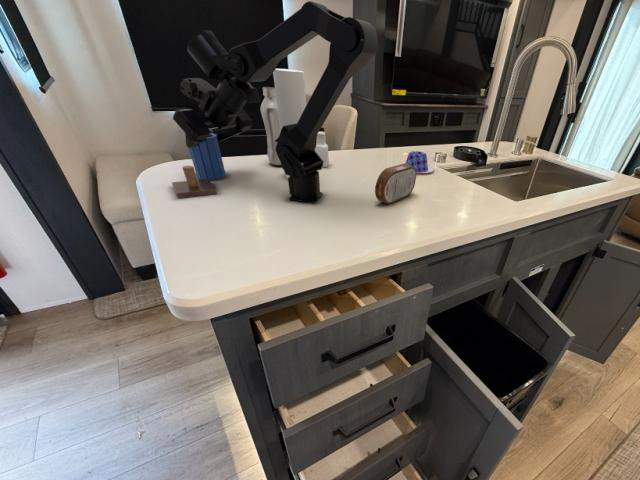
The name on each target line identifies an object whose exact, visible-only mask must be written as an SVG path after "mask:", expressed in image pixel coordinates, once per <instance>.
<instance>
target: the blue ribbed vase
mask: <svg viewBox="0 0 640 480" xmlns="http://www.w3.org/2000/svg"><path fill="white" fill-rule="evenodd" d="M216 134H217V133H216ZM216 134H215V133H212V132H210V135H209V136H208V137H207V138H206V139H207V140H206V141H204V142H202V143H200V144H198V145H197V146H195V147H193V148H191V149H189V148H188V151H189V154H190V157H191V161H192V164H193V167H194V171H195V174H196V178H197V179H198V180H203V179H209V180H210V181H219V180H222V179H224V178H226V177H227V175H226V174H227V173H226V170H225V166H224V161H223V157H222V152H221V148H220V145H219V142H218V140H217V135H216Z"/></svg>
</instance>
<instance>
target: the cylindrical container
mask: <svg viewBox="0 0 640 480" xmlns="http://www.w3.org/2000/svg"><path fill="white" fill-rule="evenodd" d="M272 77H273V83H274V88H275V92H276V100H277V109H278V117H279V125H280V132H281V129H282V127H283V126H287V125H291V124H295V123H297V122H298V120H299V118H300V116H301V115H302V113H303V111H304V109H305V107H306V105H307V97H306V96H307V95H306V83H305V82H306V81H305V71H303V70H299V69H298V70H297V69H289V68H276V69H275V71H274V72H273V73H272ZM301 164H302V165H303V163H301ZM289 177H290V175H286V174H285V178H286V179H288V178H289Z"/></svg>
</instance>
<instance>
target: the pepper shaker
mask: <svg viewBox="0 0 640 480" xmlns="http://www.w3.org/2000/svg"><path fill="white" fill-rule="evenodd" d="M326 138H327V137H326V132H324V131H319V132H318V134H317V143H316V148H315V151H316V153H317V154H318V155H319V157H320V158H321V159H322V160H323V166H322V168H327V167H328V166H329V164H330V158H329V144H327V143H326V140H327V139H326Z"/></svg>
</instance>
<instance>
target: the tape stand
mask: <svg viewBox="0 0 640 480" xmlns="http://www.w3.org/2000/svg"><path fill="white" fill-rule="evenodd" d="M182 171H183V174H184V178H185V180H183V181H172V182H171V184H172V188H173V190H174V192H175V194H176V197H177V199H185V198H194V197H202V196H211V195H217V190H216V188H215V186H214V185H213V183H212V182H211V180H209V179H203V180H202V179H198V178H197V175H196V171H195V168H194V165H183V166H182Z"/></svg>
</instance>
